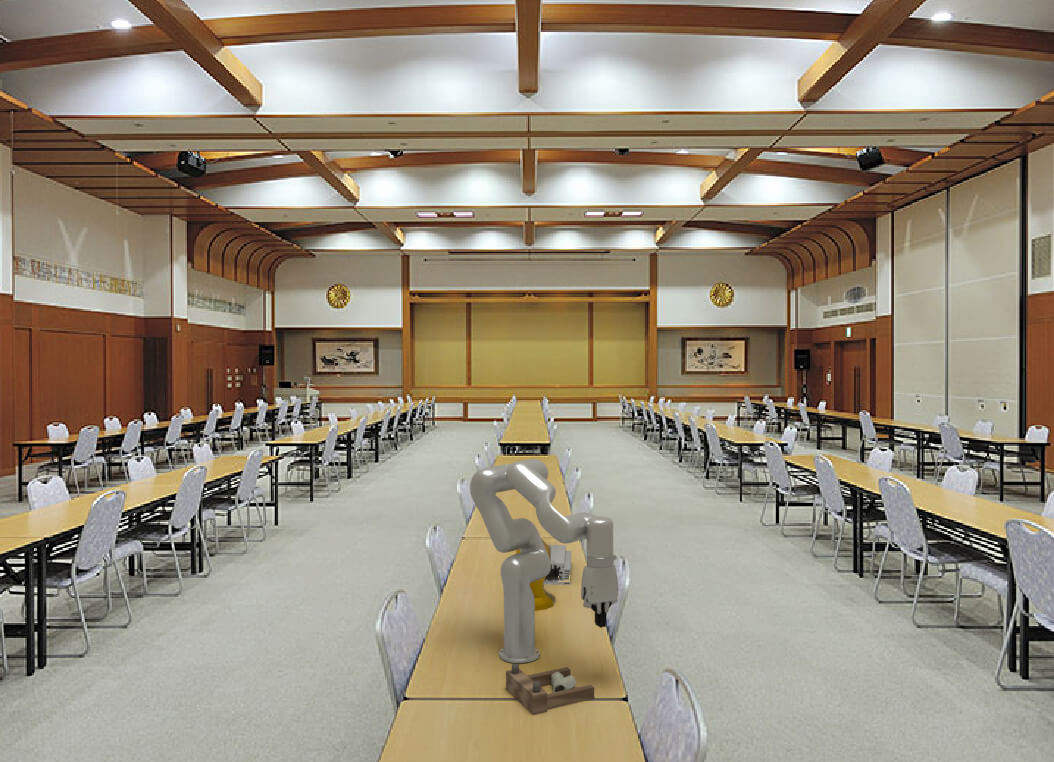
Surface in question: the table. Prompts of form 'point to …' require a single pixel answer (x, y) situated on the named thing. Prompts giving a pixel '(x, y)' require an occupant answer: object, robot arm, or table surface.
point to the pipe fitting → (562, 682)
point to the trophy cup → (541, 589)
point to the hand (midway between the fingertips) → (600, 625)
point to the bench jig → (536, 697)
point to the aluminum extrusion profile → (559, 565)
